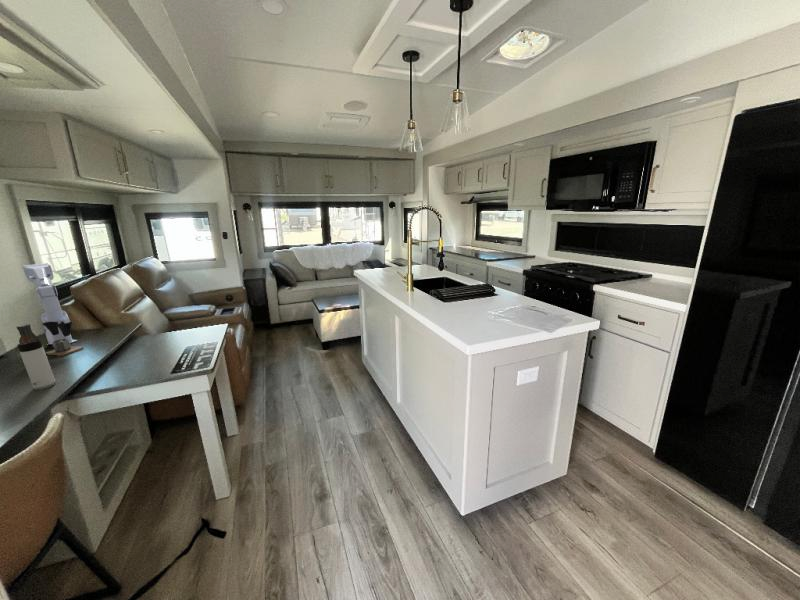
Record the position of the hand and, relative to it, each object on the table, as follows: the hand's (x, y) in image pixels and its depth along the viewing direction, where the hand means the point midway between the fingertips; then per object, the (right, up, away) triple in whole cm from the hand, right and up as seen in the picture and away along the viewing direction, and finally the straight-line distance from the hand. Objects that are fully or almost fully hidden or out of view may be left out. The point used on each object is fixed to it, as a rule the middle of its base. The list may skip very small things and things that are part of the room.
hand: (61, 335), depth 162 cm
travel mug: (+26, -18, -31) cm, 44 cm away
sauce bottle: (+3, -13, -13) cm, 18 cm away
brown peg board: (0, -8, +1) cm, 9 cm away
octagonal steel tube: (0, -7, +1) cm, 8 cm away
